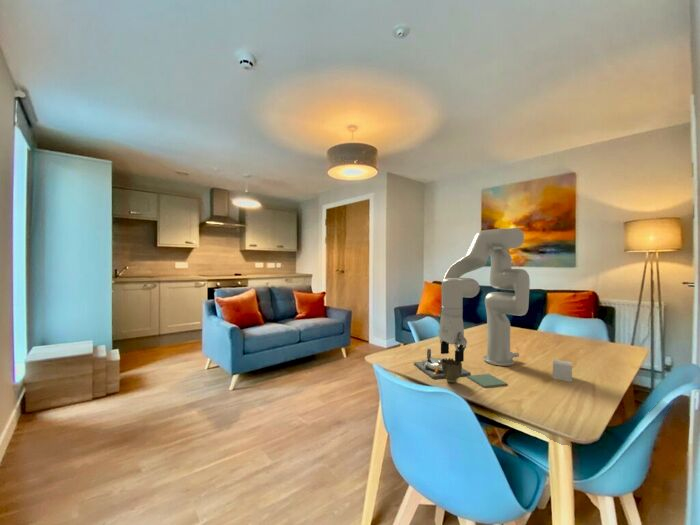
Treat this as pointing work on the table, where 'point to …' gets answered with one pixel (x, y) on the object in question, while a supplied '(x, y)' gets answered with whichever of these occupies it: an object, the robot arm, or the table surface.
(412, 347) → the table surface
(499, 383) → the seat mat
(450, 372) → the cup
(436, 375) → the index board
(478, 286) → the robot arm
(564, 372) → the grey cube
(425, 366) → the sprocket wheel
